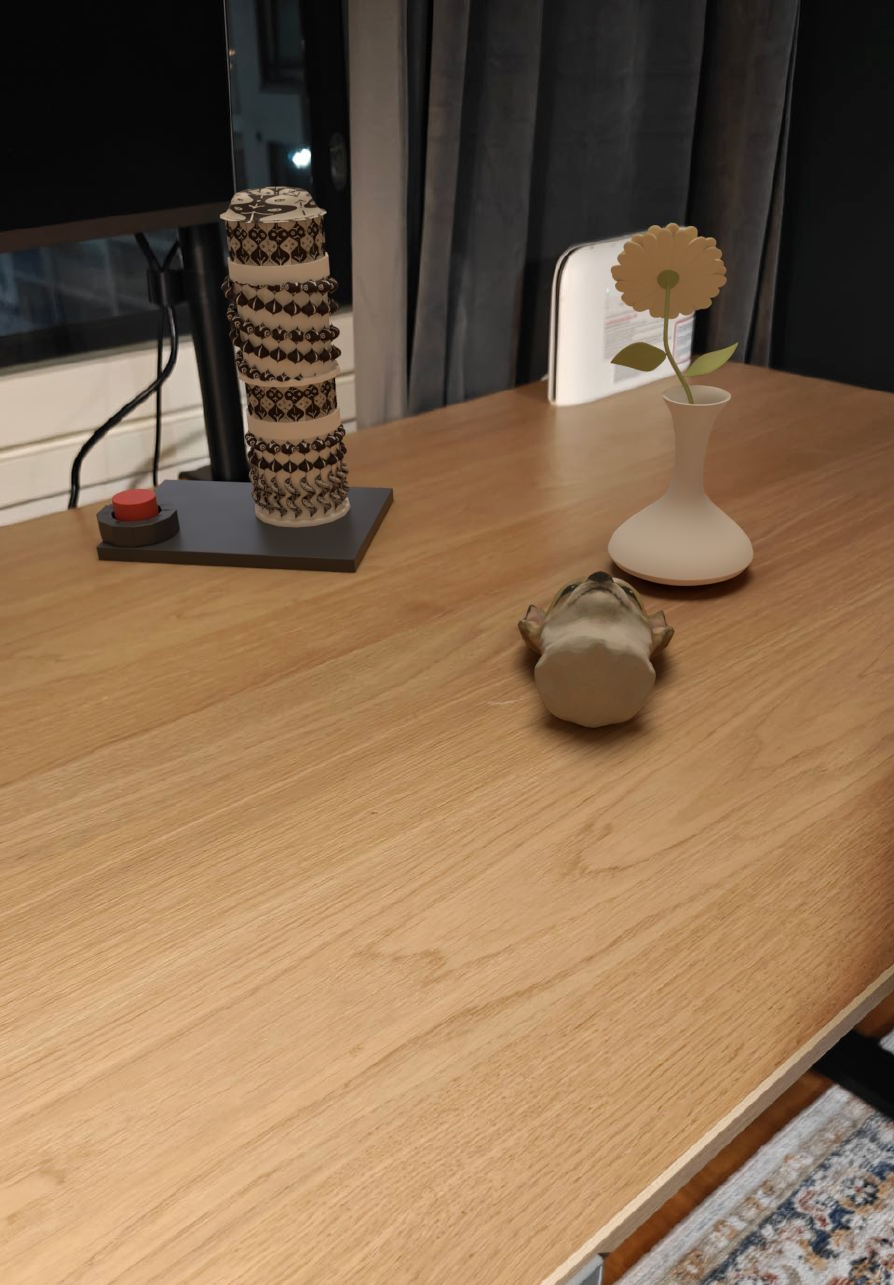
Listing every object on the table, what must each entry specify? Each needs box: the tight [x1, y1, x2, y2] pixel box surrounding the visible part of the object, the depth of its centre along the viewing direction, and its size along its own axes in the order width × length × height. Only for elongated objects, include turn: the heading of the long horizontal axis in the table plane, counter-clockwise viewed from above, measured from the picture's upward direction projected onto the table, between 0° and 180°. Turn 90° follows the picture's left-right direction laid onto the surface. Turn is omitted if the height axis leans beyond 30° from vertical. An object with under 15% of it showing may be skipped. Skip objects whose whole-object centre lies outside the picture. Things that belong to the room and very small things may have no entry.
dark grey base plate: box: [95, 479, 395, 574], centre depth 99 cm, size 23×16×3 cm
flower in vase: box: [607, 222, 754, 587], centre depth 84 cm, size 13×11×25 cm
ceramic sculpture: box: [517, 570, 675, 729], centre depth 74 cm, size 11×9×15 cm
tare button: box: [111, 488, 159, 522], centre depth 95 cm, size 4×4×2 cm
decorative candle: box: [219, 186, 351, 528], centre depth 93 cm, size 9×9×25 cm
